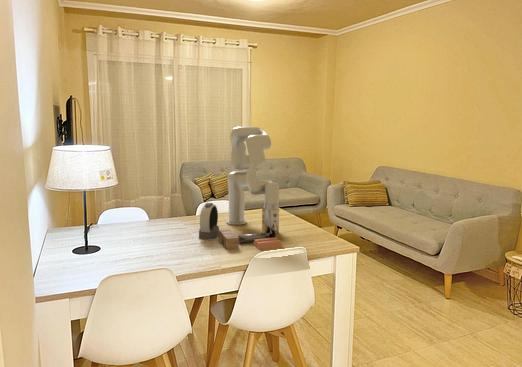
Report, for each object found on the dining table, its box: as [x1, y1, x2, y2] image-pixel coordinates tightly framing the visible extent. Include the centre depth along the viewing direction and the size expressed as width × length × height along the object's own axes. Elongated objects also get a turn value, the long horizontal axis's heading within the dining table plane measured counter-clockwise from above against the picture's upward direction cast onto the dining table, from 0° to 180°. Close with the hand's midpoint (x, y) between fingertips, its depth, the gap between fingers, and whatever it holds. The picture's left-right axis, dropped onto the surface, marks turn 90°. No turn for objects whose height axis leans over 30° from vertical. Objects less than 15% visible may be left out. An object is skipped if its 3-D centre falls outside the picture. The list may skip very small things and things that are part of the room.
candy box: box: [261, 205, 280, 234], centre depth 225 cm, size 9×4×15 cm, turn 107°
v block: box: [252, 236, 282, 251], centre depth 203 cm, size 9×12×3 cm
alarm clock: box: [198, 202, 220, 241], centre depth 217 cm, size 16×10×18 cm, turn 168°
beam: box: [218, 228, 240, 250], centre depth 205 cm, size 16×6×6 cm, turn 21°
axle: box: [237, 232, 270, 244], centre depth 210 cm, size 20×4×4 cm, turn 110°
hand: (270, 239), depth 213 cm, fingers closed on axle, 4 cm apart
